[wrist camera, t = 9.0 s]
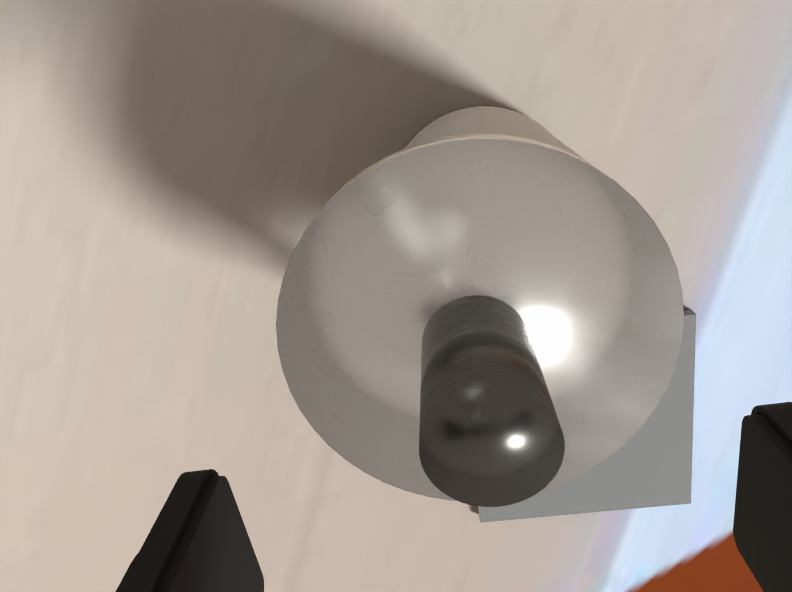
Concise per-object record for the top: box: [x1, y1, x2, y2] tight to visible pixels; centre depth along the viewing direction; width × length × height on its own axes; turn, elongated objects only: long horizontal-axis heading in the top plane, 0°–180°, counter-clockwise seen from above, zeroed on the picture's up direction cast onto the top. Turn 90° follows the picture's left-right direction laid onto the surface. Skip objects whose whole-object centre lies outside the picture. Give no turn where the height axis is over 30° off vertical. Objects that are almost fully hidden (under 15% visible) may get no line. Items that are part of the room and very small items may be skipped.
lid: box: [276, 134, 684, 507], centre depth 16 cm, size 12×12×6 cm
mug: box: [406, 106, 592, 165], centre depth 24 cm, size 12×8×11 cm
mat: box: [478, 309, 696, 522], centre depth 32 cm, size 12×12×1 cm
